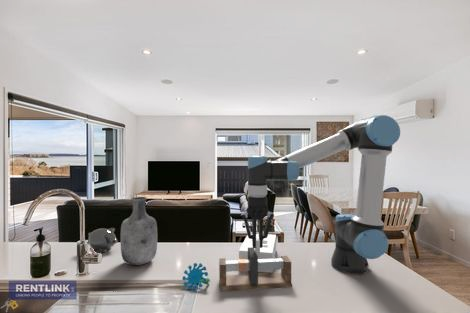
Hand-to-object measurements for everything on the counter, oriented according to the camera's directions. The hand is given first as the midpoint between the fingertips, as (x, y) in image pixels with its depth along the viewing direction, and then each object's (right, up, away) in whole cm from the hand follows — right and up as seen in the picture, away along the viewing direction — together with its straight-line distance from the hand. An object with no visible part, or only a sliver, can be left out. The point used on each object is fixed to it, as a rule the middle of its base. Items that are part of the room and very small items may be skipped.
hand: (257, 255), depth 104 cm
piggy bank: (-77, -11, +34) cm, 85 cm away
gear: (-23, -11, -2) cm, 26 cm away
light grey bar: (-1, -5, 0) cm, 5 cm away
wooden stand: (-1, -10, 0) cm, 10 cm away
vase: (-53, -11, +20) cm, 57 cm away
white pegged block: (+3, -11, +22) cm, 25 cm away
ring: (-2, -8, 0) cm, 9 cm away
